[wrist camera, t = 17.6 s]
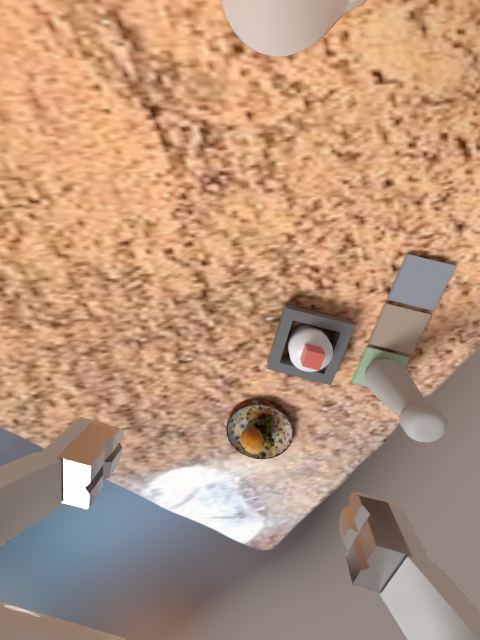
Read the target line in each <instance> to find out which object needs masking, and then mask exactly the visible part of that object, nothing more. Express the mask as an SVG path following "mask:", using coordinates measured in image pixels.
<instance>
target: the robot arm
mask: <svg viewBox="0 0 480 640" xmlns="http://www.w3.org/2000/svg"><path fill="white" fill-rule="evenodd" d="M365 1H366V0H221V3H222V6H223V10H224V12H225V15H226V17H227V20H228V22H229V24H230V25H231V27H232V29H233V30H234V32H235V33H236V35H237V36H238V37H239V38H240V39H241V40H242V41H243V42H244V43H245V44H246V45H247V46H249V47H250V48H252V49H254V50H255V51H257V52H259V53H262V54H265V55H270V56H287V55H292V54H295V53H298V52H300V51H303V50H305V49H306V48H308V47H310V46H311V45H313V44H314V43H316V42H317V41H318V40H319V39H320V38H321V37H323V36H324V35H325V33H326V32H327V31H328V30H329V29H330V28H331V27H332V26H333V24H334V23H335V22H336V21H337V20H338V19H339V18H340V17H341V16H342V15H343V14H344V13H346V12H348V11H350V10H352V9H354V8H356V7H358V6H359V5H361V4H362V3H364V2H365ZM122 438H123V429H121V428H117V427H114V426H111V425H108V424H104V423H101V422H98V421H94V420H90V419H87V418H83V417H81V418H78V419H76V420H75V421H74V422H73V423H72V424H71V425H70V426H69V427H68V428H67V429H66V430H65V431H64V432H62V433H61V434H60V435H59V436H58V437H57V438H56V439H55V440H54V441H53V442H52V443H51V444H50V445H49V446H48V447H47V448H45V449H44V450H43V451H42V452H41V453H37V452H35V453H33V454H31V455H28V456H26V457H23V458H21V459H18V460H16V461H14V462H11V463H9V464H6V465H4V466H1V467H0V546H1V545H3V544H4V543H6V542H7V541H9V540H10V539H12V538H13V537H15V536H16V535H18V534H19V533H21V532H22V531H23V530H25V529H26V528H28V527H29V526H31V525H32V524H34V523H35V522H36V521H38V520H40V519H41V518H43V517H44V516H46V515H47V514H49V513H50V512H52V511H53V510H54V509H56V508H57V507H59V506H60V505H61V504H62V503H65V504H69V505H73V506H77V507H81V508H85V509H89V508H90V506H91V505H92V503H93V502H94V500H95V499H96V497H97V496H98V494H99V493H100V491H101V490H102V484H103V481H104V480H105V479H107V478H109V477H110V476H111V475H112V473H113V472H114V470H115V469H116V466H117V464H118V462H119V460H120V456H121V453H122V446H121V444H120V443H119V442H120V441H121V440H122ZM348 500H349V503H350V505H349V506H347V507H345V508H343V510H342V513H341V515H340V522H339V527H340V534H341V539H342V542H343V543H344V545H345V546H346V548H347V549H348V550H349V551H348V554H347V556H346V560H347V564H348V568H349V572H350V577H351V580H352V584H354V585H356V586H360V587H363V588H366V589H369V590H372V591H375V592H379V593H381V594H380V595H381V597H382V599H383V600H384V602H385V604H386V605H387V607H388V608H389V610H390V612H391V613H392V615H393V616H394V618H395V620H396V621H397V623H398V624H399V626H400V628H401V629H402V631H403V633H404V634H405V636H406V638H407V639H408V640H480V610H479V609H478V608H477V607H476V606H475V605H474V604H473V603H472V602H471V601H470V600H469V599H468V598H467V597H466V595H465V594H464V593H463V592H462V591H461V590H460V589H459V588H458V587H457V586H456V585H455V584H454V583H453V582H452V580H451V579H450V578H449V577H448V576H447V575H446V574H445V573H444V572H443V571H442V570H441V569H440V568H439V567H438V565H437V564H436V563H432V562H430V560H429V558H428V556H427V554H426V552H425V550H424V548H423V546H422V544H421V542H420V540H419V538H418V536H417V534H416V532H415V530H414V528H413V526H412V524H411V522H410V520H409V518H408V516H407V514H406V512H405V510H404V508H403V507H402V506H401V504H399V503H395V502H392V501H388V500H383V499H381V498H377V497H373V496H369V495H365V494H361V493H358V492H354V493H352V494H351V495H350V497H349V499H348ZM0 640H128V639H124V638H121V637H117V636H114V635H111V634H108V633H104V632H101V631H97V630H94V629H91V628H87V627H84V626H80V625H77V624H74V623H71V622H67V621H64V620H61V619H57V618H54V617H51V616H47V615H44V614H40V613H37V612H34V611H30V610H27V609H24V608H20V607H17V606H13V605H10V604H7V603H4V602H0Z"/></svg>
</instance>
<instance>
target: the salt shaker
mask: <svg viewBox="0 0 480 640" xmlns="http://www.w3.org/2000/svg"><path fill="white" fill-rule="evenodd" d="M365 382H366V385H367V387H368V388H369V389H370V391H371V392H372V393H373V394H375V395H376V396H377V397H378V398H379V399H380V400H381V401H382V402H383V403H384V404H385V405H387V406H388V407H389V408H390V409H391V410H392V411H393V412H394V413H395V414H396V415H397V416H398V417H400V425H401V426H402V428H403V429H404V431H405V432H406V433H407V435H408V436H409V437H410V438H412V439H414V440H416V441H418V442H432V441H435V440H438V439H439V438H440V437H442V436H443V434H444V433H445V431H446V429H447V420H446V419H445V417H444V416H443V414H442V413H441V412H440V410H439V409H437V408H436V407H434V406H433V405H431V404H429V403H426V402H425V400H424V398H423V396H422V395H421V393H420V391H419V390H418V388H417V386H416V385H415V383H414V381H413V379H412V378H411V376H410V374H409V373H408V371H407V370H406V368H405V367H404V366H403V364H401V363H399V362H397V361H395V360H393V359H387V358H383V359H377V360H372V361H371V363H370V364H369V365H368V367H367V368H366V369H365Z"/></svg>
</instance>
